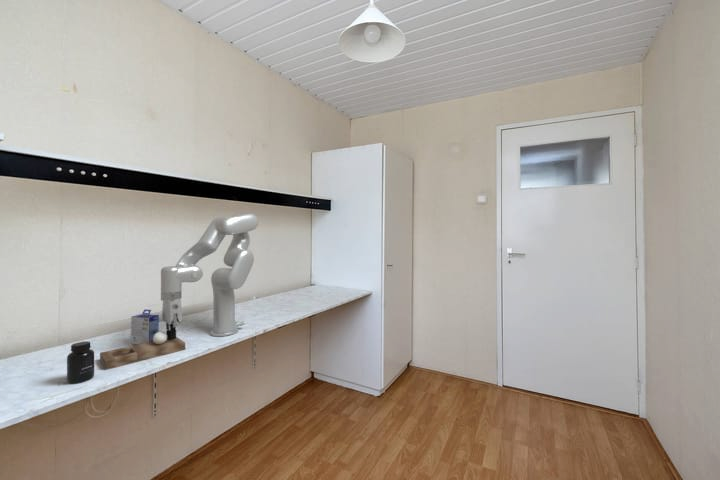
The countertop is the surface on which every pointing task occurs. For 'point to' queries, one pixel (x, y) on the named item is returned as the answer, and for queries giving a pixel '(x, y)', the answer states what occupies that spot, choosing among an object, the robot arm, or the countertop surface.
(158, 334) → the ball
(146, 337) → the ink cartridge box
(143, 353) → the board
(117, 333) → the countertop surface
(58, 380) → the countertop surface
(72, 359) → the supplement bottle
